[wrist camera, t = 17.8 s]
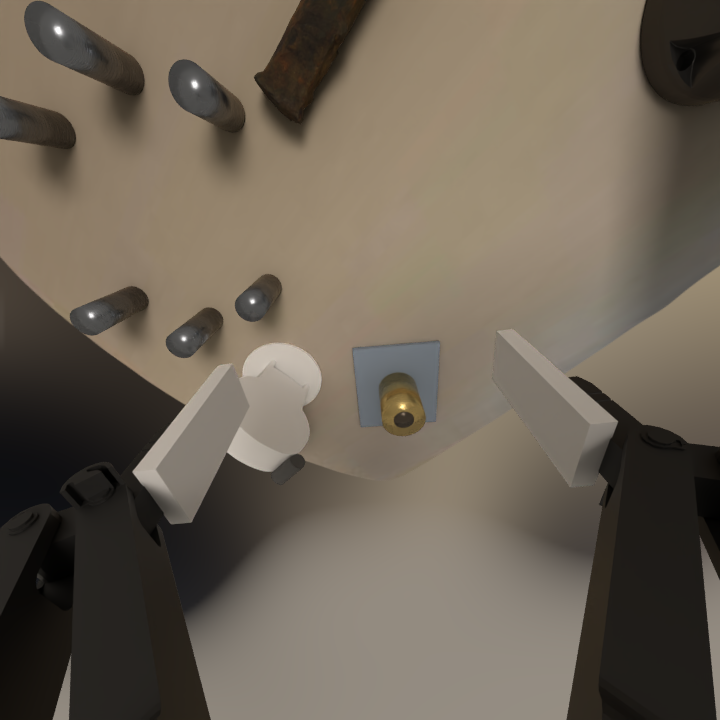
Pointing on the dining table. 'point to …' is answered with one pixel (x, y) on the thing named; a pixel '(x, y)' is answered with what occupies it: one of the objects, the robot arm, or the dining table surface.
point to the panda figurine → (276, 409)
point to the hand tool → (306, 53)
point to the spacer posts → (50, 128)
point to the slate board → (391, 359)
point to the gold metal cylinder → (401, 404)
